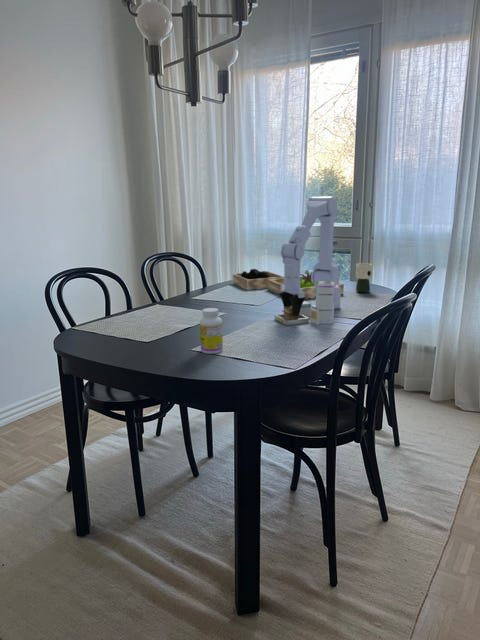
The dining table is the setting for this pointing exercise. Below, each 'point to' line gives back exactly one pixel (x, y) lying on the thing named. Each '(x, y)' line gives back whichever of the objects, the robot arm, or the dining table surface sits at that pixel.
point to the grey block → (305, 309)
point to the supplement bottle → (211, 331)
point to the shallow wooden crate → (254, 281)
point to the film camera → (254, 274)
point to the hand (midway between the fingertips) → (291, 313)
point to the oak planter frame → (309, 291)
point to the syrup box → (326, 302)
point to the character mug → (363, 276)
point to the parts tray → (301, 320)
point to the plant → (308, 280)
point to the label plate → (314, 316)
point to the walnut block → (289, 313)
